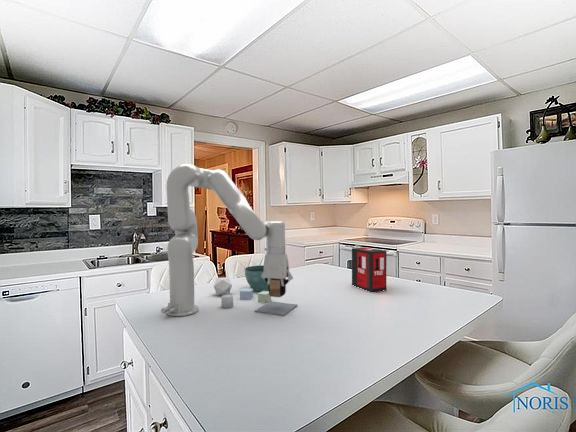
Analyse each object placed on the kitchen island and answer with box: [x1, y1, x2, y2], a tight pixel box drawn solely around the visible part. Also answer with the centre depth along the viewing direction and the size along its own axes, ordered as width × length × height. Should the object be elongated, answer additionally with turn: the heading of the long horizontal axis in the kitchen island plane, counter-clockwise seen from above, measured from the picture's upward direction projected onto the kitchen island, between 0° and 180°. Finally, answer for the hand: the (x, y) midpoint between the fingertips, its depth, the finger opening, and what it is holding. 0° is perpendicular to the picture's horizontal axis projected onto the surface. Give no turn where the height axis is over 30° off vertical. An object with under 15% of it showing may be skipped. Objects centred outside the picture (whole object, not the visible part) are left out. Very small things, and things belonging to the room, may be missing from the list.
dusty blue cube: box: [239, 288, 254, 301], centre depth 152 cm, size 5×5×4 cm
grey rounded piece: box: [220, 294, 234, 309], centre depth 139 cm, size 5×5×4 cm
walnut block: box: [270, 279, 282, 298], centre depth 135 cm, size 4×4×7 cm
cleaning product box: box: [351, 246, 387, 293], centre depth 168 cm, size 16×9×20 cm, turn 25°
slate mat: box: [254, 300, 298, 317], centre depth 135 cm, size 14×13×1 cm
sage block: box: [257, 290, 272, 304], centre depth 147 cm, size 5×4×4 cm
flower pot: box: [244, 264, 269, 292], centre depth 168 cm, size 16×16×11 cm
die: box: [213, 276, 232, 297], centre depth 158 cm, size 8×9×10 cm
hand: (277, 293), depth 135 cm, fingers closed on walnut block, 4 cm apart
